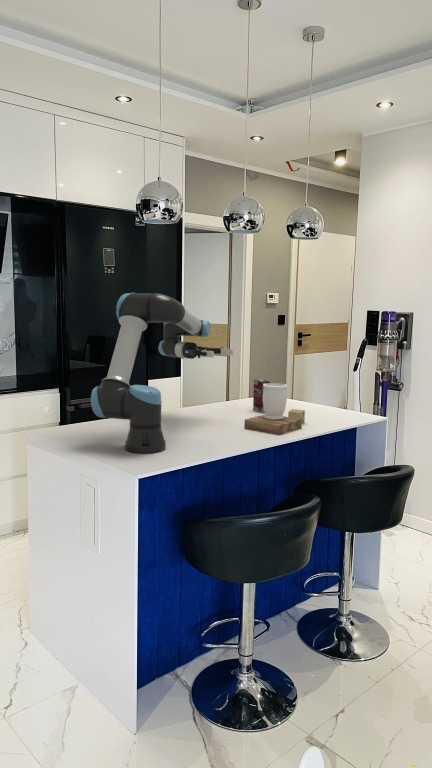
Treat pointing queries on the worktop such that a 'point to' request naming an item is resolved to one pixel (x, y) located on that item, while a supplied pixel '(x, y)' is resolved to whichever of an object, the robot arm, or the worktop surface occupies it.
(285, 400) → the jar
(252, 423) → the walnut slab
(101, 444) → the worktop surface
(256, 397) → the supplement box
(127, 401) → the robot arm
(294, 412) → the oak cube
